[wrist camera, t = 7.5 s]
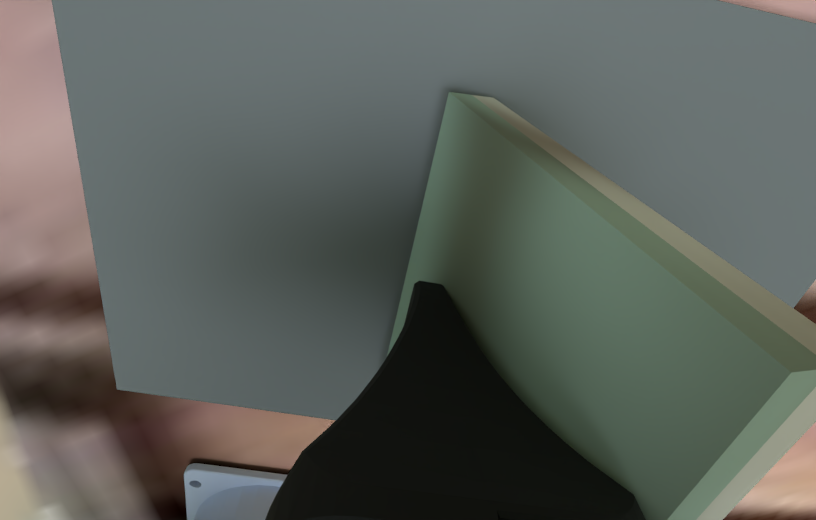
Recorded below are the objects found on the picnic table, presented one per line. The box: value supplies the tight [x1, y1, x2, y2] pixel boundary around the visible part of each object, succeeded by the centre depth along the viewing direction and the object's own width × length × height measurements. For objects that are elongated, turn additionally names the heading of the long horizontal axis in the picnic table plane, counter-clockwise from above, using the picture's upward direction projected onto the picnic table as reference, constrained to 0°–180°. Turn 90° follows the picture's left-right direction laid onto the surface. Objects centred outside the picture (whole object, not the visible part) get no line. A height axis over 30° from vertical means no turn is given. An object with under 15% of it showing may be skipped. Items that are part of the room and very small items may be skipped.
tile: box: [387, 92, 816, 520], centre depth 11 cm, size 9×10×1 cm
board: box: [52, 0, 816, 420], centre depth 15 cm, size 16×22×1 cm
